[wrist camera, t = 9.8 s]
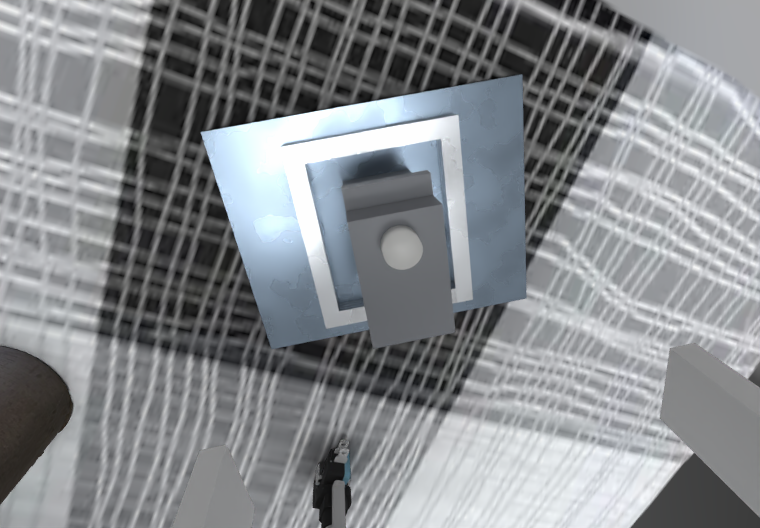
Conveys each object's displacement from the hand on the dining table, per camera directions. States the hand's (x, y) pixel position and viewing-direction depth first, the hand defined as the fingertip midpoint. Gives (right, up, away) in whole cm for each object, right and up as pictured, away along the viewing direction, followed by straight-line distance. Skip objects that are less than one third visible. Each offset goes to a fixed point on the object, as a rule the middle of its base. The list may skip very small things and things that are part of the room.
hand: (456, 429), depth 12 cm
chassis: (-2, +8, +17) cm, 19 cm away
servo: (-2, +8, +16) cm, 18 cm away
